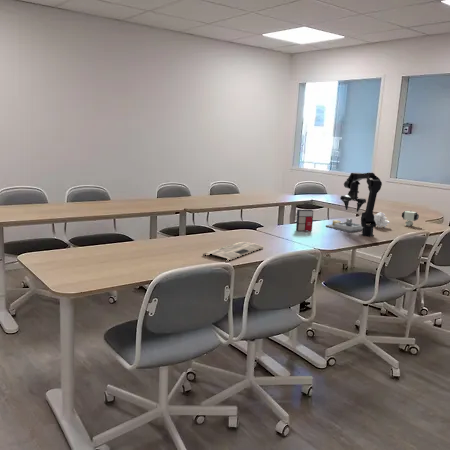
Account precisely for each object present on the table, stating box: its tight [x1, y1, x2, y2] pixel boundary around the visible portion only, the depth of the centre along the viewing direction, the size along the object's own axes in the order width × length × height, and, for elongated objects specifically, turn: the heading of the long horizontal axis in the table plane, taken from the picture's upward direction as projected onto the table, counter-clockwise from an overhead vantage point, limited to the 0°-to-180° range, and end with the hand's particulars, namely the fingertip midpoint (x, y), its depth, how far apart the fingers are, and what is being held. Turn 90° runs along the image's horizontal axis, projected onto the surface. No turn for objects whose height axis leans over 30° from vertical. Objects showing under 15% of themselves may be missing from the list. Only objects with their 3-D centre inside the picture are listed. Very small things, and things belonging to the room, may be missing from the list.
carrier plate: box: [325, 220, 363, 233], centre depth 346 cm, size 22×17×4 cm
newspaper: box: [202, 241, 264, 262], centre depth 269 cm, size 37×19×3 cm, turn 145°
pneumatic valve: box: [401, 210, 420, 227], centre depth 364 cm, size 6×12×12 cm, turn 49°
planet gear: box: [342, 218, 354, 227], centre depth 343 cm, size 11×11×6 cm
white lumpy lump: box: [373, 211, 390, 229], centre depth 352 cm, size 11×12×12 cm
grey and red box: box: [295, 209, 314, 232], centre depth 331 cm, size 11×4×15 cm, turn 101°
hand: (351, 210), depth 344 cm, fingers open, 9 cm apart
